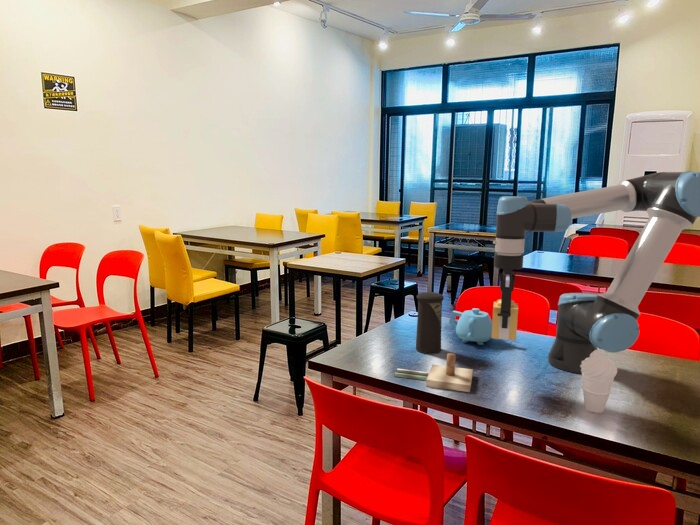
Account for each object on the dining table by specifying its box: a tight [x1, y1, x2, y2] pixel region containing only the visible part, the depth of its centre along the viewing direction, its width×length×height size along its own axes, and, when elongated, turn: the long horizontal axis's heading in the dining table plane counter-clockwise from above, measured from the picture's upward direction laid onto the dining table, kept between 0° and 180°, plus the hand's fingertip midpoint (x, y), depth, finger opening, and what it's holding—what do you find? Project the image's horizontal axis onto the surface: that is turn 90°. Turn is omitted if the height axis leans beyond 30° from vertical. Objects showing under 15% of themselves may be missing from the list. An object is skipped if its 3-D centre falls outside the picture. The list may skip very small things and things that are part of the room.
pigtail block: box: [393, 352, 474, 393], centre depth 141 cm, size 22×12×8 cm, turn 72°
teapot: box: [448, 307, 492, 346], centre depth 175 cm, size 20×17×12 cm
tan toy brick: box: [490, 298, 519, 341], centre depth 135 cm, size 6×6×10 cm
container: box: [415, 291, 445, 355], centre depth 164 cm, size 9×9×20 cm
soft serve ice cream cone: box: [580, 348, 618, 414], centre depth 122 cm, size 8×8×16 cm
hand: (503, 334), depth 136 cm, fingers closed on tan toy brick, 6 cm apart
